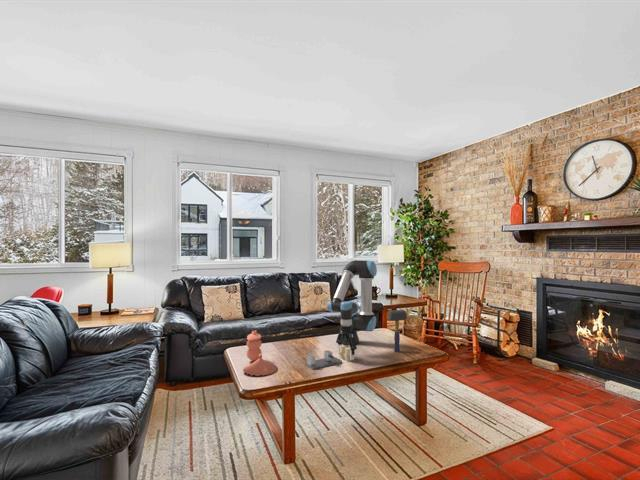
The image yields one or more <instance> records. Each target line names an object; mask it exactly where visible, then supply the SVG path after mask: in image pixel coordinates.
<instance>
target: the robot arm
mask: <svg viewBox="0 0 640 480" xmlns="http://www.w3.org/2000/svg"><path fill="white" fill-rule="evenodd" d="M377 272H378V269H377V265H376V262H375V261H374V260H362V259H361V260H358V259H356V260H352V261H350V262H348V263H347V264H346V265H345V267H344V268H343V270H342V272H341V275H342V276H341V278H340V280H339V283H338V286H337V288H336V291H335V292H334V295H333V298H332V300H328V301H327V303H326V310H327V311H328V312H331V313H340V329H339V330H338V334H337V337H336V340H335V343H336V344H337V350H338V351H337V352H338V355H340V346H343V345H347V346H349V347H350V348H351V350H350V360H351V361H354V360H355V355H356V354H355V350H357V349H358V348H357V345H358V344H360V339H359V335H358V331H362V332H363V331H364V332H373V331H374V330H375V329H376V325H377V316H375V313H374V312H373V302H372V301H373V280H374V279H375V277H376V276H377ZM355 276H358V279H359V280H360V305H359V304H358V303H357V302H356V301H344V300H345V297H346V294H347V292H348V290H349V287H350V285H351V282H352V279H353V278H355ZM359 309H360V310H359ZM358 311H359V312H358ZM357 312H358V313H357Z"/></svg>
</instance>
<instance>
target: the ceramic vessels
mask: <svg viewBox="0 0 640 480" xmlns="http://www.w3.org/2000/svg"><path fill="white" fill-rule="evenodd" d="M246 338H247V341H246V347H247V348H248V349H247V350H246V357H247V358H248V359H249V360H250V361H253V362H252V363H250V364H249V365H247V366H245V367H243V369H242V372H243V371H244V372H245V373H247V374H246V375H248V374H250V375H249V376H253V375H255V376H256V377H257V376H258V377H259V376H260V375H262V376H267V375H272V374H274V373H275V372H276V371H278V366H277V365H276V364H274V363H271V362H269V361H267V360H265V359H263V353H262V349H261V348H260V347H261V346H262V343H263V342H262V340H261V339H262V335H261V334H260V333H258V332H257V330H252V331H251V333H249V334H248V335H247V336H246ZM244 372H243V373H244ZM245 373H244V374H245ZM255 376H254V377H255Z"/></svg>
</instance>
